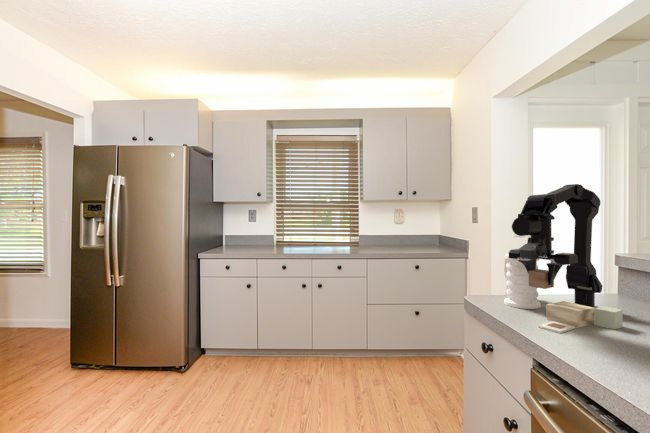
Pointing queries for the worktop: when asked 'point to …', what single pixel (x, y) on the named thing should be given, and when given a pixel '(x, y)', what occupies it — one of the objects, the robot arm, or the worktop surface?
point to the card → (556, 327)
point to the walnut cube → (539, 279)
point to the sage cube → (608, 317)
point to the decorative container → (520, 286)
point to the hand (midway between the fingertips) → (541, 283)
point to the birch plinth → (570, 314)
